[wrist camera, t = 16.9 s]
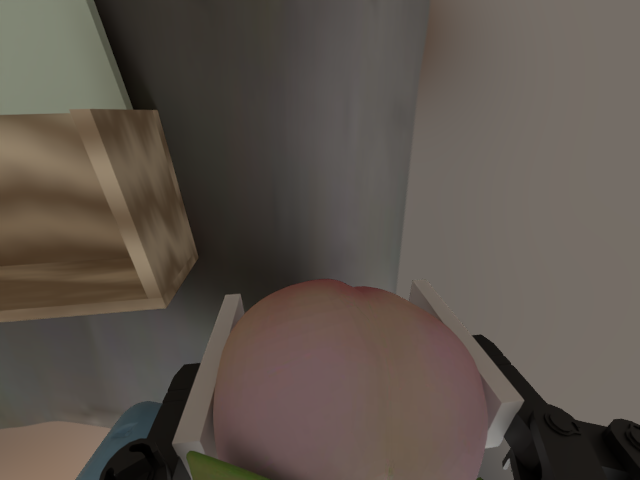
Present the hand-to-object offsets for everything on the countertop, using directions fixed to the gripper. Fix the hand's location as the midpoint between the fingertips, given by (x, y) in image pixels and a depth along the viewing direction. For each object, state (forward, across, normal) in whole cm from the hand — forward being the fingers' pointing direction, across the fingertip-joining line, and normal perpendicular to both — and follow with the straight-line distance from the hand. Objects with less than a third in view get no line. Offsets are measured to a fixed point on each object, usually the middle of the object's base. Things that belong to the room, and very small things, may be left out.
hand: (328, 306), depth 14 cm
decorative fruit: (0, 0, 0) cm, 1 cm away
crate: (+17, -26, +2) cm, 31 cm away
